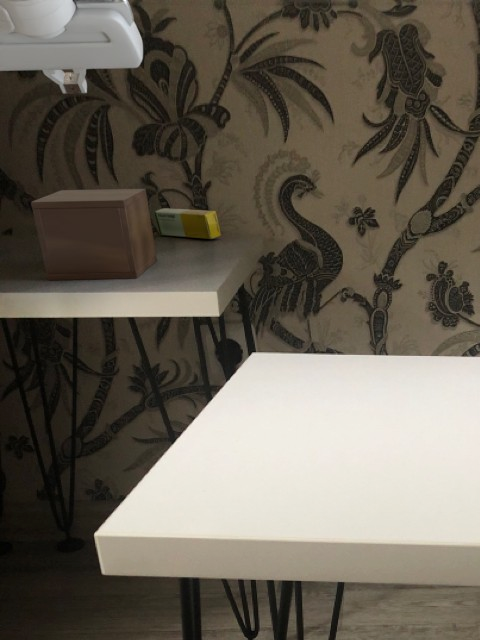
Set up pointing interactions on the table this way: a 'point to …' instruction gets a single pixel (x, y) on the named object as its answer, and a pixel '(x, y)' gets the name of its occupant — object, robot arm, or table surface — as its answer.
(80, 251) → the wooden box
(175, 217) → the medication box
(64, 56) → the robot arm
